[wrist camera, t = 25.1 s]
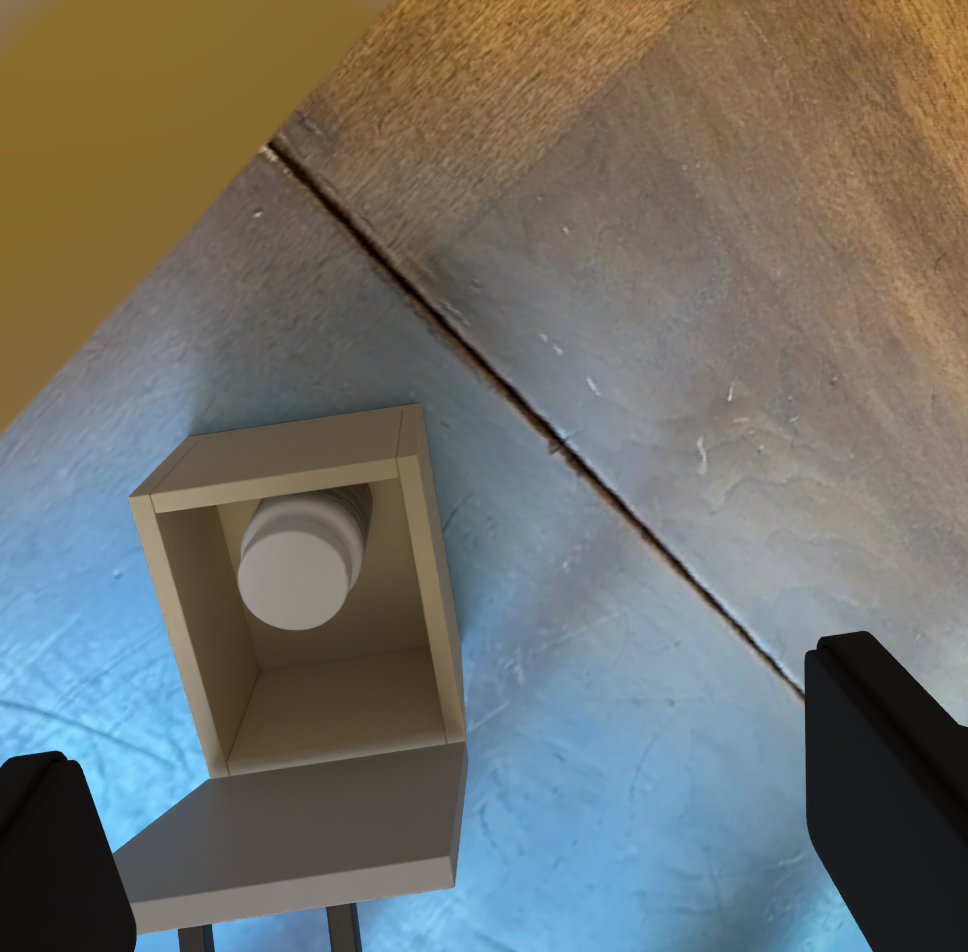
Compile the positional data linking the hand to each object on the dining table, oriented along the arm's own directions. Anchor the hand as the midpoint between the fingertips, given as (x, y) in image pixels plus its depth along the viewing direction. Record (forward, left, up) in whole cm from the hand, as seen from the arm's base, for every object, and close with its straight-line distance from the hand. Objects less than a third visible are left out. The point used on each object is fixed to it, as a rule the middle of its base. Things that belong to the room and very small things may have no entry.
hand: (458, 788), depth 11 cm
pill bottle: (-4, -8, -28) cm, 29 cm away
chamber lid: (-2, -13, -14) cm, 19 cm away
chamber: (-3, -10, -28) cm, 30 cm away
